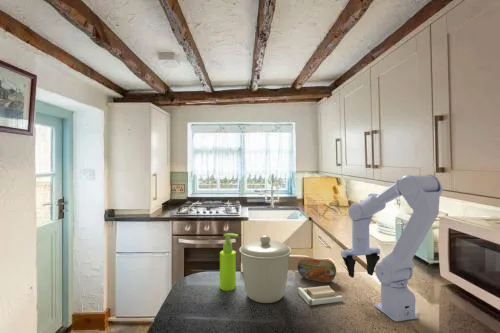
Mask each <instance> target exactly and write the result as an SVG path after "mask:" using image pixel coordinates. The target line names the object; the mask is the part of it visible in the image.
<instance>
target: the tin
mask: <svg viewBox="0 0 500 333" xmlns="http://www.w3.org/2000/svg"><path fill="white" fill-rule="evenodd" d="M298 261H299V262H298V263H297V271H298V273H299V275H300V276H301V277H302V278H303V279H306V280H309V281H315V282H320V283H331V282H332V281H334V279H335V277H336V275H337V268H336V266H335V264H334V263H333V262H332V261H331V260H328V259H324V258H319V257H318V258H316V257H310V256H306V257H303V258H302V259H300V260H298Z"/></svg>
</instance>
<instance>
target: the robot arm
mask: <svg viewBox="0 0 500 333" xmlns="http://www.w3.org/2000/svg"><path fill="white" fill-rule="evenodd" d="M443 191H444V189H443V185H442V184H441V181H440V180H439V178H438V177H436V176H435V175H433V174H424V175H422V174H421V175H420V174H419V175H417V174H416V175H411V174H406V175H403V176H402V177H401V178H398V179H396V181H395V182H394V183H393V184H392V185H390V186H389V187H387V188H386V189H385V190H383V191H382V192H380V193H379V194H378V193H369V194H368V196H367V197H366V198H365V199H363V200H362V199H361V200H360V201H359V202H358V203H351V205H350V206H349V207H348V216H349V217H350V219H351V222H352V223H351V231H352V232H351V236H352V237H351V241H352V242H351V244H352V245H351V248H349V249H348V248H347V249H343V250H340V255H341V258H342V259H343V262H344V263H345V266H346V269H347V273H348V276H349V277H350V278H352V279H353V278H355V266H356V262H357V259H355V258H354V257H357V256H365V259H366V271H367V272H366V273H367V274H368V275H370V276H373V275H374V272H375V275H376V277H377V279H378V282H379V283H380V303H377V304H374V307H375V308H377V309H378V310H379V311H380V312H382V313H383V314H384V315H386V316H387V317H388V318H389V319H391V320H392V321H394V322H403V321H407V320H414V319H415V320H417V319H418V318H419V316H418V315H416V296H415V294H414V293H413V291H411V290H410V288H408V284H409V280H410V279H412V278H413V276H414V273H413V272H414V267H415V263H414V261H413V258H415V255H416V253H417V251H418V250H419V249H420V247H421V245H422V243H423V241H424V240H425V238H426V237H427V236H428V235H427V234H428V233H429V231H430V229H431V228H432V226H433V224H434V223H435V221H436V219H437V217H438V215H439V213H440V212H439V211H440V196H442V193H443ZM401 196H402V197H403V199H404V200H405V202H406V203H407V204H408V206H409V208H411V209H412V214H411V216H410V217H409V219H408V220H407V223H406V224H405V227H404V229H403V230H402V232H401V234H400V236H399V238H398V240H397V242H396V243H395V246H394V248H393V250H392V251H391V252H390V253H389V254H387V255H386V256H385V257H383V258H382V260H381V261H380V262H379V260H380V259H381V257H380V255H381V249H380V248H378V247H370V225H371V223H372V222H371V221H372V218H373V216H374V215H376V214H377V213H379V212H381V211H383V210H385V208H386V206H387V203H390V202H392V201H393V200H395V199H397V198H399V197H401Z"/></svg>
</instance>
